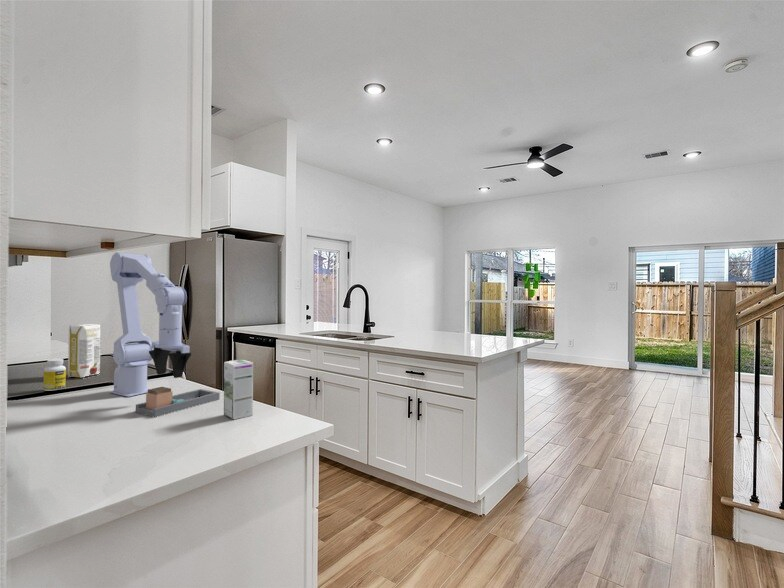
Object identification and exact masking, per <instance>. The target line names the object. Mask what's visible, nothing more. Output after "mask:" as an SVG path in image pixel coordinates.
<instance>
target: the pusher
mask: <svg viewBox="0 0 784 588" xmlns="http://www.w3.org/2000/svg"><path fill="white" fill-rule="evenodd" d="M182 401H186V400H183V399H179V400H176V399H172V404H174V403H178V402H182Z"/></svg>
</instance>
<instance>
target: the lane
mask: <svg viewBox="0 0 784 588" xmlns="http://www.w3.org/2000/svg"><path fill="white" fill-rule="evenodd" d="M199 396H201V397H199ZM220 396H221V395H220V392H219V391H213V390H210V389H209V390H208V389H202V388H200V389H193V390H191V391H187V392H182V393H179V394H178V393H177V394H175V395H174V394H173V395H172V399H176V400H179V399H183V400H186V401H182V402H178V403H174V404H170V405H166V406H163V407H159V408H155V409H150V408H146V401H145V402H141V403H136V404H135V413H137V412H138V414H141V413H142V415H145V414H146V416H149V415H150V416H149V417H152V416H154V417H153V418H158V417H160V416H164V414H165V415H168V413H169V414H172V413H175V412H174V411H176V412H178V410H179V411H182V410H181V409H183V410H185V408H186V409H189V408H188V407H190V408H193V407H192V406H194V407H197V406H200V405H199V404H201V405H204V404H208V403H211V402H215V401H218V400H220ZM195 397H196V398H195ZM191 398H192V399H191ZM187 399H188V400H187ZM210 401H211V402H210ZM207 402H208V403H207ZM203 403H204V404H203ZM196 405H197V406H196ZM171 412H172V413H171ZM157 416H158V417H157Z"/></svg>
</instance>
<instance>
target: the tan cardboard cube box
mask: <svg viewBox="0 0 784 588" xmlns="http://www.w3.org/2000/svg"><path fill="white" fill-rule="evenodd" d="M148 389H149V390H148V392H147V393H145V394H146V395H145V402H146V408H150V409H155V408H159V407H163V406H166V405H170V404H172V396H173V395H174V394H173V392H174V391H172V388H170V387H165V386H158V387H154V388H148Z"/></svg>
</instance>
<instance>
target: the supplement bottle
mask: <svg viewBox="0 0 784 588" xmlns="http://www.w3.org/2000/svg"><path fill="white" fill-rule="evenodd" d="M63 364H64V359H63V358H53V359H51V358H50V359H47V361H46V365H47V366H46V367H44V368H43V388H44V389H56V388H62V387H65V388H66V386H67V385H66V380H67V379H66V377H67V368H66V366H65V365H63Z"/></svg>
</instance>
